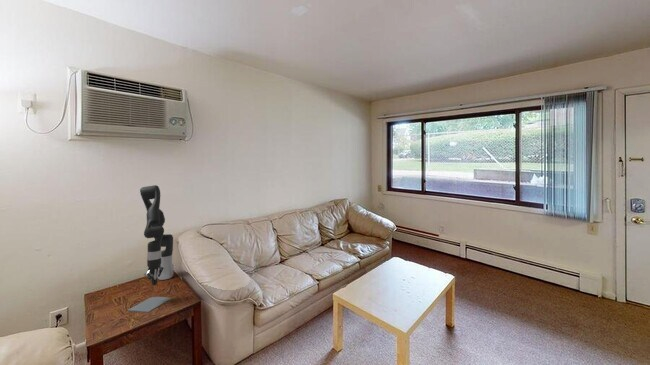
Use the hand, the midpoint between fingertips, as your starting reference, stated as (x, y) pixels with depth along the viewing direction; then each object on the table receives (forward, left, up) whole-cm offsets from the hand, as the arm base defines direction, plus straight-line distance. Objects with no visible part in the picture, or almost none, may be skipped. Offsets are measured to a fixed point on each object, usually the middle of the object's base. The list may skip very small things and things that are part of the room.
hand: (154, 284), depth 160 cm
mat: (+3, 0, -11) cm, 12 cm away
